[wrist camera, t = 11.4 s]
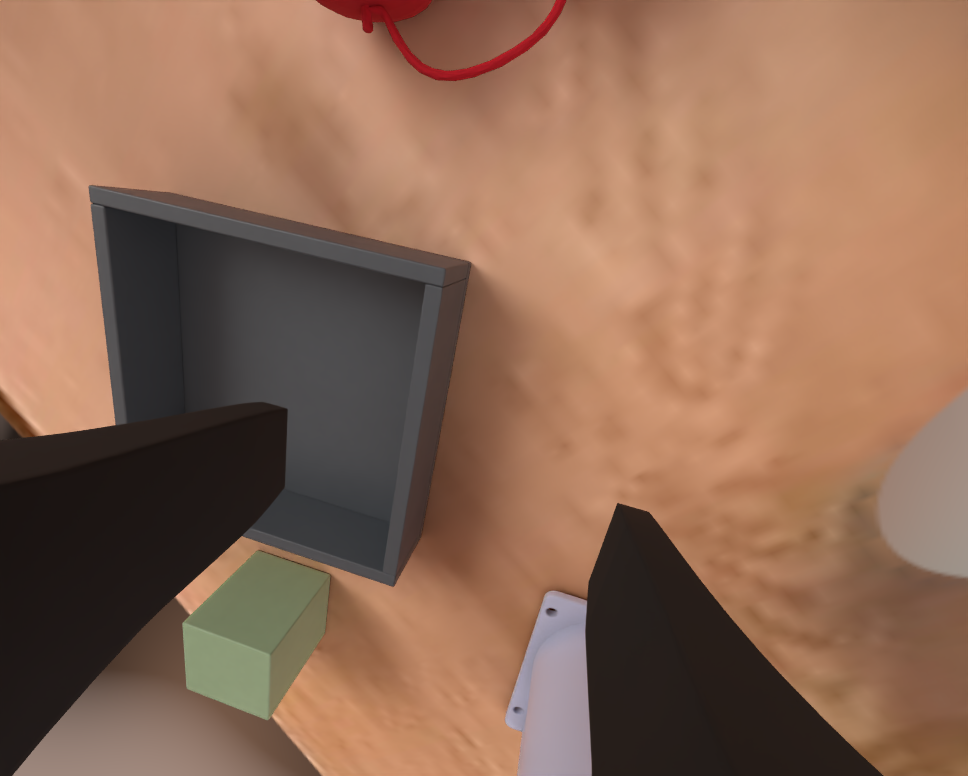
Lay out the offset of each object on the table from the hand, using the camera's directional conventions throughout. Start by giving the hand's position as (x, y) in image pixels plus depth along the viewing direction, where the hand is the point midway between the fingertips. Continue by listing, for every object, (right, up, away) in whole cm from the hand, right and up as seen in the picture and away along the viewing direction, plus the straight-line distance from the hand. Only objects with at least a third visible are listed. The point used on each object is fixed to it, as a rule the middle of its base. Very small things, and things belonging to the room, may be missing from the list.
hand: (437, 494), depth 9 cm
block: (-10, -9, +16) cm, 20 cm away
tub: (-7, +3, +11) cm, 13 cm away
